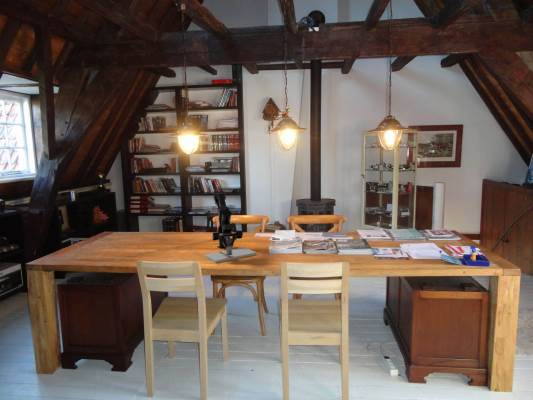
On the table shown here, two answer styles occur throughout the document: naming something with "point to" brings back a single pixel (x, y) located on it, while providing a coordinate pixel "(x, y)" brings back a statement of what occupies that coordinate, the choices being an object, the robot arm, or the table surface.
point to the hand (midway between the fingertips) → (229, 247)
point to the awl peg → (228, 246)
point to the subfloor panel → (235, 254)
